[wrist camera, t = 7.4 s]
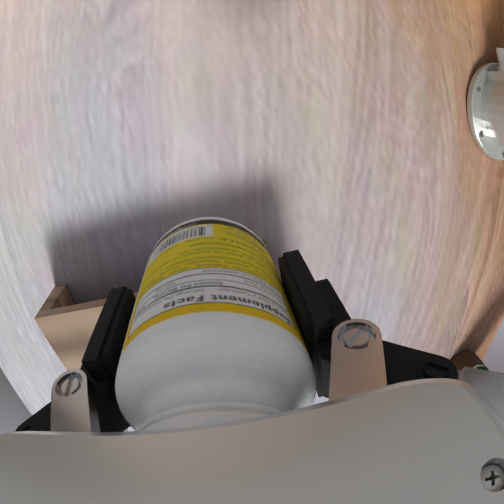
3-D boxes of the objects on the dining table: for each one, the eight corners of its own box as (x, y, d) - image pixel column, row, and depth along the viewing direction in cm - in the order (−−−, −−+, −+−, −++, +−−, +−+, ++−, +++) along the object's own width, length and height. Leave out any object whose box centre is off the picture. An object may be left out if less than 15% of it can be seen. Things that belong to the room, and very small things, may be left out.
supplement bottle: (242, 333, 16) (273, 528, 7) (135, 299, 14) (88, 505, 5) (294, 240, 14) (400, 446, 5) (173, 192, 12) (101, 410, 3)
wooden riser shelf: (54, 286, 31) (34, 318, 26) (263, 240, 32) (274, 270, 27) (90, 351, 36) (78, 385, 30) (277, 318, 37) (288, 353, 31)
